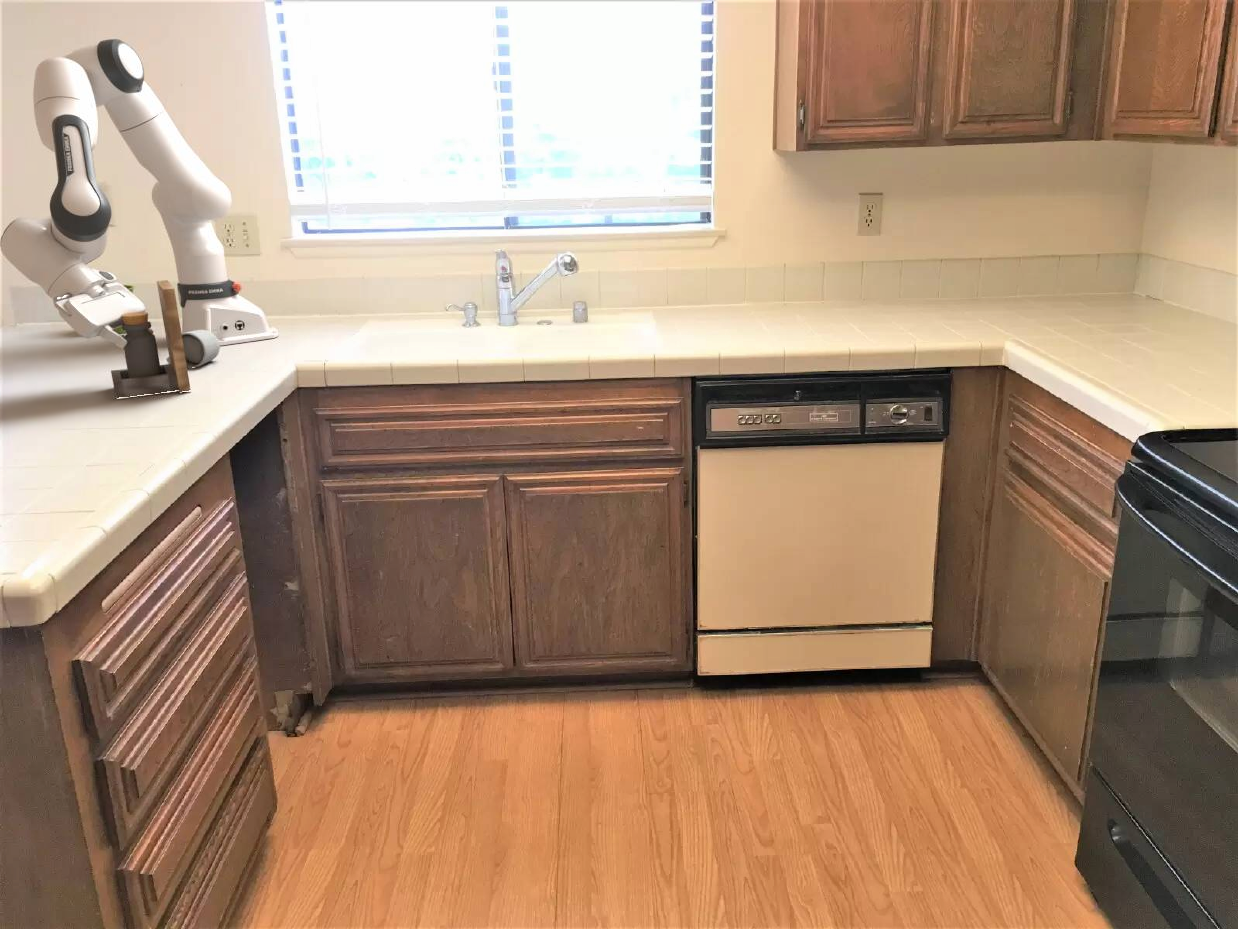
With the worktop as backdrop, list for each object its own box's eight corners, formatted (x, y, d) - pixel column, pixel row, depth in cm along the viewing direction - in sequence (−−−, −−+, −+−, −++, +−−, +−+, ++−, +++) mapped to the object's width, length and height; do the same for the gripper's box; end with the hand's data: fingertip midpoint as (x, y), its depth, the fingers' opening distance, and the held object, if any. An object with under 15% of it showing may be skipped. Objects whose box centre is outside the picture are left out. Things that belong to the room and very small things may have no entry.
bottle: (140, 386, 200) (126, 311, 195) (169, 386, 200) (156, 311, 195) (125, 393, 194) (111, 316, 190) (155, 393, 194) (142, 316, 190)
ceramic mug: (224, 360, 223) (219, 325, 220) (208, 368, 215) (202, 332, 212) (178, 361, 223) (172, 326, 221) (160, 369, 216) (153, 334, 213)
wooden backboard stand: (183, 377, 206) (167, 280, 200) (190, 392, 195) (174, 288, 188) (113, 386, 201) (95, 285, 194) (117, 401, 189) (97, 295, 183)
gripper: (57, 286, 181) (120, 339, 183) (115, 271, 200) (171, 319, 203) (38, 311, 182) (101, 363, 185) (97, 294, 202) (153, 341, 204)
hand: (138, 340), depth 194 cm, fingers open, 8 cm apart
